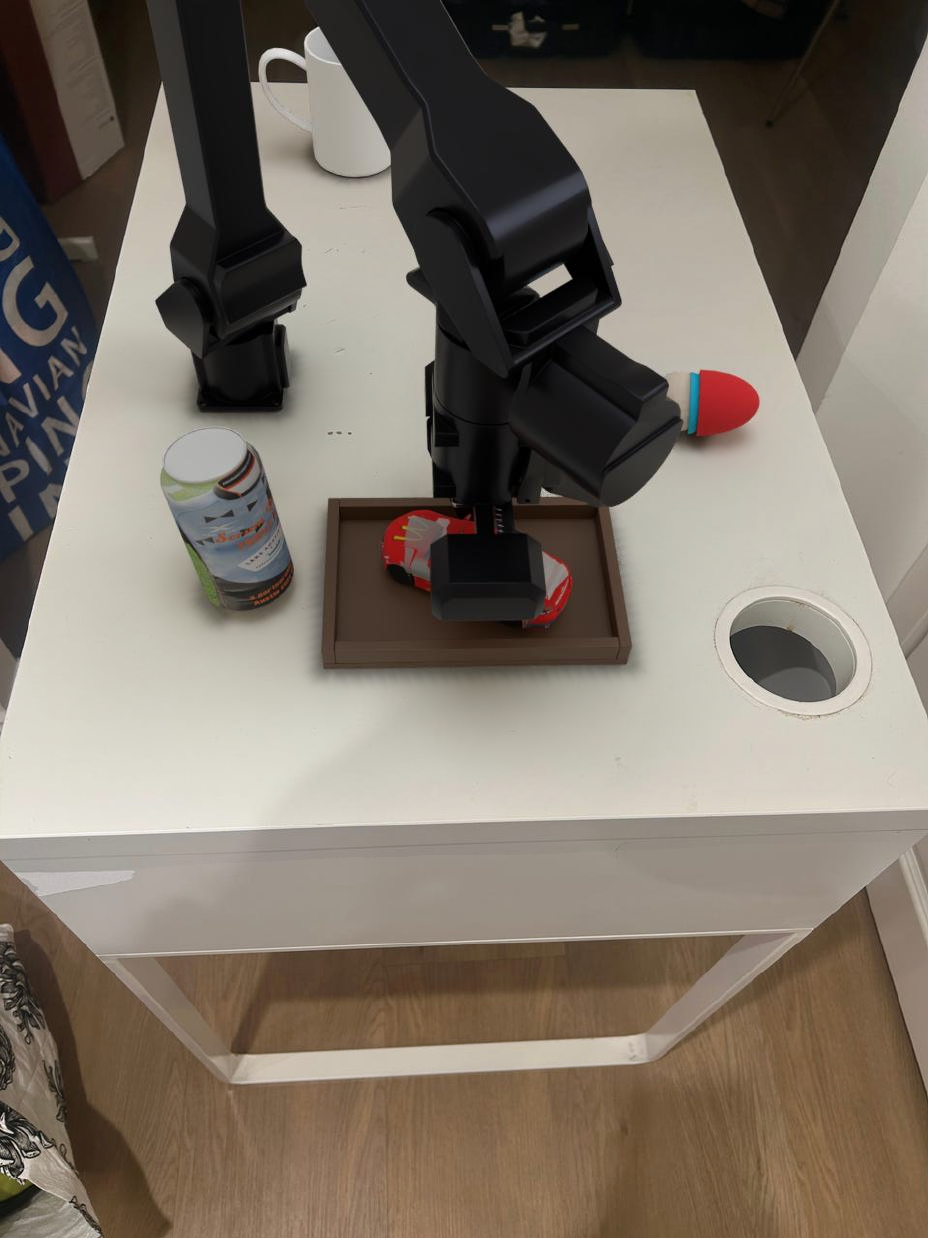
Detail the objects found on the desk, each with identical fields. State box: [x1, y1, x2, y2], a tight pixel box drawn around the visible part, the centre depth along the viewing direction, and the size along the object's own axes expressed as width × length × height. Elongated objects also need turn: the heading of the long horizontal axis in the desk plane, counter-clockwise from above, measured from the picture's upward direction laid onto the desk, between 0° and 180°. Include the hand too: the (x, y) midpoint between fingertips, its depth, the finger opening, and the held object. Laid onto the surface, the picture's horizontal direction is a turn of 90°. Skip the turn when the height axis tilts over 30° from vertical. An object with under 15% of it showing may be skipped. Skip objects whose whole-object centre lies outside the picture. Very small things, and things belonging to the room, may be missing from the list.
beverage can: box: [159, 425, 295, 612], centre depth 61 cm, size 6×7×12 cm
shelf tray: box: [320, 496, 633, 670], centre depth 65 cm, size 20×13×2 cm, turn 93°
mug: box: [258, 26, 391, 178], centre depth 90 cm, size 12×8×10 cm, turn 95°
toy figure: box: [663, 369, 761, 437], centre depth 75 cm, size 8×5×15 cm
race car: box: [381, 510, 573, 630], centre depth 64 cm, size 13×5×4 cm, turn 64°
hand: (472, 565), depth 64 cm, fingers closed on race car, 6 cm apart
